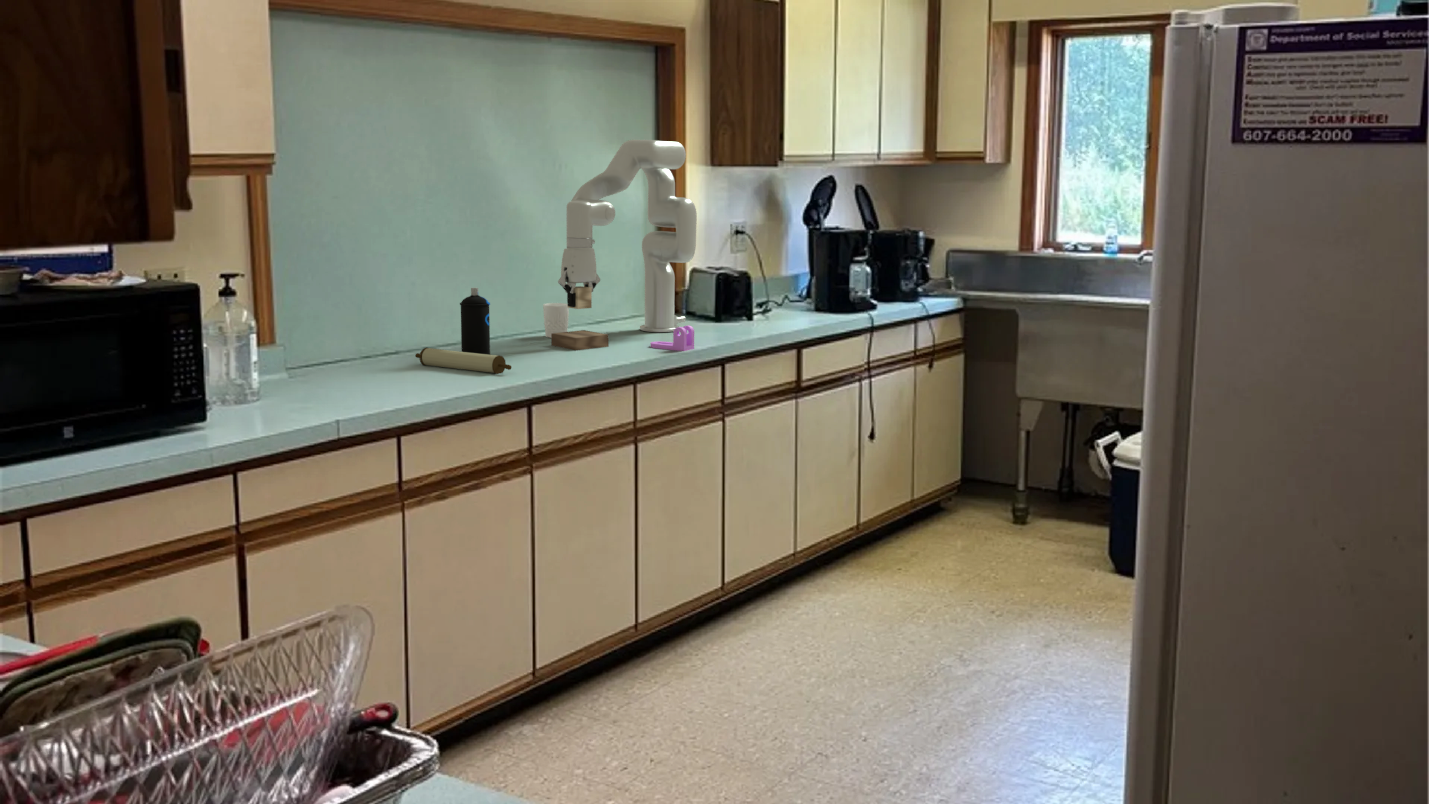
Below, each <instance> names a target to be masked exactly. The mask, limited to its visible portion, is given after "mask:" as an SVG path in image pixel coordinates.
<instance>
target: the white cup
mask: <svg viewBox="0 0 1429 804" xmlns="http://www.w3.org/2000/svg"><path fill="white" fill-rule="evenodd" d="M542 308H543V320H544V321H543V322H544V323H543V324H544V330H545V332H544V333H545V337H546V338H550V339H551V333H561V332H568V331H569V330H568V328H569V315H570V312H569V311H570V308H568V303H566V302H565V303H564V302H548V303H543V304H542Z"/></svg>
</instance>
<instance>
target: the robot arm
mask: <svg viewBox="0 0 1429 804" xmlns="http://www.w3.org/2000/svg"><path fill="white" fill-rule="evenodd" d="M686 153H687V151H686V149H685V147H684V145H683V144H682V143H680V142H679V141H674V140H673V141H669V140H668V141H667V140H658V139H630V140H626V141H624V142H623V143H622V144H621V145H620V147H619V148H618V150H617V151H616V153H615V155H614V156H613V158H612V159H611V160H610V162H609V164H608V165H607V167H606V169H604V171H603V172H601V173H599V174H597V175H596V176H594V177H593V178H591V179H590V180H588V181H586V182H585V183H584V184H582V185H581V186H580V187H579V188H578V189H577V191H576V192H575V194H574V195H573V197H572V199H570V200H571V201H569V202H567V205H566V248H563V252H562V256H561V267H560V269H561V270H560V278H559V279H558V280H557V283H558V284H559V285H560V287H562V289H564V291H565V293H566V294H567V295H566V299H567V300H566V301H567V303H566V304H568V306H570V307H575V306H576V293H574V290H575V287H577V286H576V285H577V284H582V285H583V287H590V288H592V293H593V292H594V290H595V289H596V287H597V285H598V284H599V283H600V282H601V278H600V277H599V275H598V273H597V261H596V253H595V249H594V247H593V245H594V244H595V243H596V240H595V239H594V238H593V226H597V227H599V226H600V227H604V226H608V225H610V224H611V223H612V222H614V219H615V216H616V209H615V207H614V205H613V204H612V203H611V202H609V201H607V200H605V199H604V200H603V198H607V197H610V196H613V195H616V194H618V193H621V192H623V191H625V190H627V189H628V188H629V186H630V185H631V184H632V182H633V180H634V178H635V177H636V175H638V172H639V171H640V169H642V171H643V173H644V174H645V176H646V179H647V186H648V187H647V189H648V190H647V219H648V223H650V225H652V226H655V227H661V228H675V231H668V230H667V231H664V230H655V231H650V232H648V233H646V234H645V235H644V236H643V238H642V241H641V251H642V256H643V263H644V264H643V265H644V324H641V325H639V330H641V331H644V332H650V333H671V332H674V329H675V328H677V327H680V326H679V325H678V324H679V323H681V324H682V323H685V322H686V317H685V316H677V315H675V294H676V293H675V291H676V290H675V286H676V285H675V283H676V282H675V280H676V277H675V272H674V269H673V267H672V265H671V263H676V264H677V263H679V264H680V263H682V264H685V263H689V262H690V261H692V259H693V258H694V257H695V255H696V245H697V244H696V243H697V214H698V213H697V208H696V206H695V203H694V202H693V201H692V199H690V198H687V197H680V196H679V197H678V196H676V182H675V181H676V180H675V177H674V175H673V172H672V171H671V170H678V169H680V168H682V166H683V165H684V164H685V162H686V159H687V158H686V156H687V155H686ZM601 199H602V200H601Z"/></svg>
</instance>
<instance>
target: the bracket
mask: <svg viewBox="0 0 1429 804" xmlns="http://www.w3.org/2000/svg"><path fill="white" fill-rule="evenodd" d="M672 334H673V336H672V338H673V340H672V341H650V348H652V349H660V350H661V349H662V350H668V351H669V350H671V351H677V352H679V351H681V352H686V351H690V350H691V351H692V350H694V349H695V329H694V327H693V326H691V325H684V326H679V327H677V328H675V329H674V331H673V333H672Z"/></svg>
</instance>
